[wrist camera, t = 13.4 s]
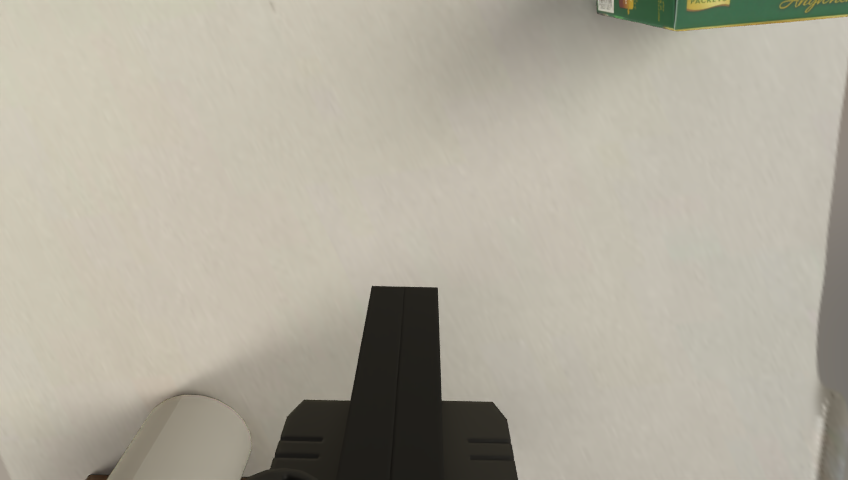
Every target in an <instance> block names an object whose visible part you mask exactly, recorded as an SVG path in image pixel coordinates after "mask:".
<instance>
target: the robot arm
mask: <svg viewBox="0 0 848 480" xmlns="http://www.w3.org/2000/svg"><path fill="white" fill-rule="evenodd" d="M245 480H518V477H517V472H516V466H515V461H514V455H513V450H512V445H511V439H510V434H509V428H508V423H507V419H506V418H505V417H504V415H503V414H502V413H501V412H500V410H499V409H498V408H497V407H496V406H495V404H494V403H493V402H472V401H442V398H441V369H440V340H439V311H438V288H433V287H387V286H372V288H371V294H370V299H369V305H368V310H367V315H366V321H365V326H364V331H363V337H362V342H361V347H360V353H359V358H358V364H357V369H356V374H355V380H354V385H353V390H352V396H351V401H338V400H303V401H302V402H301V403H300V404H299V405H298V406H297V407H296V408H295V409H294V410H293V411H292V412H291V413H290V414H289V415H288V417H287V419H286V422H285V425H284V428H283V431H282V434H281V440H280V441H279V443H278V446H277V450H276V453H275V458H274V459H273V462H272V465H271V468H270V470H265V471H263V472H260V473H257V474H255V475H252V476H250V477H248V478H246V479H245Z"/></svg>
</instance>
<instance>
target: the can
mask: <svg viewBox="0 0 848 480" xmlns="http://www.w3.org/2000/svg"><path fill="white" fill-rule="evenodd" d="M251 448H252V444H251V435H250V432H249V430H248V428H247V426H246V424H245V422H244V420H243V419H242V418H241V417H240V416H239V415H238V414H237V413H236V412H235V411H234V410H233V409H232V408H231V407H229V406H227V405H226V404H224V403H222V402H220V401H219V400H216V399H213V398H209V397H206V396H202V395H181V396H177V397H173V398H169V399H167V400H165V401H164V402H162V403H161V404H159V405H158V406H156V407H155V408H154V409H153V410H152V412H151V413H150V415H149V416H148V418H147V419H146V420H145V422H144V424H143V425H142V427H141V428H140V430H139V431H138V433H137V434H136V436H135V437H134V439H133V440H132V442H131V444H130V445H129V447H128V448H127V450H126V451H125V453H124V454H123V456H122V457H121V459H120V460H119V462H118V464H117V465H116V467H115V468H114V470H113V471H112V473H111V474H110V476H109V477H108V479H107V480H241V477H242V475H243V472H244V469H245V467H246V464H247V461H248V458H249V455H250V452H251Z"/></svg>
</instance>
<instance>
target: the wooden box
mask: <svg viewBox="0 0 848 480" xmlns="http://www.w3.org/2000/svg"><path fill="white" fill-rule="evenodd" d="M109 476H110V475H89V476H88V477H87V479H86V480H107V479H108V477H109ZM246 478H247V477H241V480H245V479H246Z"/></svg>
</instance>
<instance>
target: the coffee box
mask: <svg viewBox="0 0 848 480" xmlns="http://www.w3.org/2000/svg"><path fill="white" fill-rule="evenodd" d="M597 13H598V14H601V15H606V16H610V17H615V18H620V19H624V20H629V21H633V22H639V23H643V24H647V25H651V26H656V27H660V28H665V29H669V30H673V31H687V30H699V29H711V28H722V27H734V26H746V25H759V24H771V23H783V22H795V21H805V20H815V19H826V18H837V17H847V16H848V0H597Z"/></svg>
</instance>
